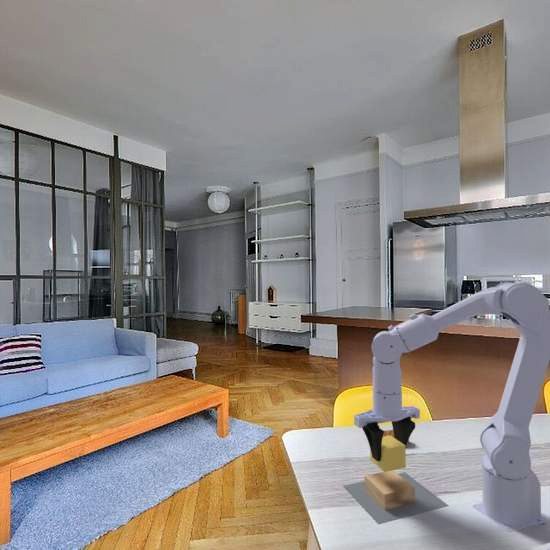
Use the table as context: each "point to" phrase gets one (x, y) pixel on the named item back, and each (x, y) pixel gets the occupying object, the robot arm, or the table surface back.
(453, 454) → the table surface
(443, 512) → the table surface
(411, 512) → the board
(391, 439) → the yellow block
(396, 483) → the oak block
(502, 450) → the robot arm
